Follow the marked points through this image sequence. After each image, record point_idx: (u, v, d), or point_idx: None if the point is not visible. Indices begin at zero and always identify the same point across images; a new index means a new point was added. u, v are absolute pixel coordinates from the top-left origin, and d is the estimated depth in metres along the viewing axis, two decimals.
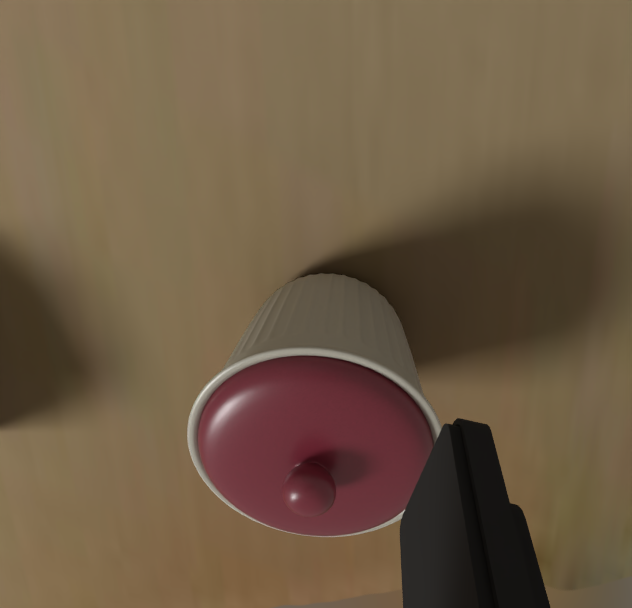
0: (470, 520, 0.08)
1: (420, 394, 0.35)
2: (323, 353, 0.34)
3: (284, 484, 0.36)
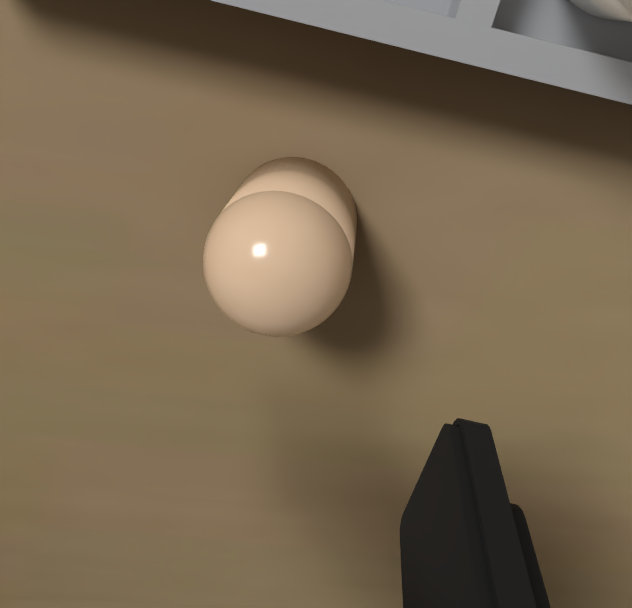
0: (470, 520, 0.08)
1: None
2: None
3: None
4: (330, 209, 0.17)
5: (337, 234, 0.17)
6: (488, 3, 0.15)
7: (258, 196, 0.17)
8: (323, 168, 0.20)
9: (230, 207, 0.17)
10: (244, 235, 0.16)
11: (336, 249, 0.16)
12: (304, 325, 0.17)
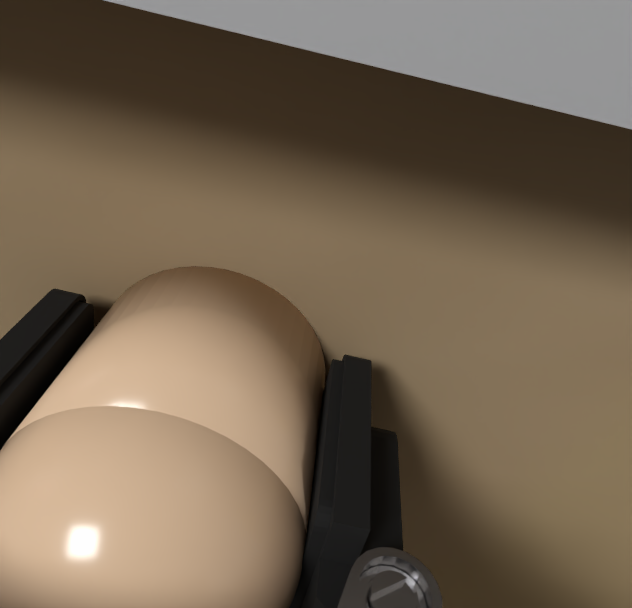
0: (331, 433, 0.09)
1: None
2: None
3: None
4: (253, 427, 0.08)
5: (265, 510, 0.07)
6: None
7: (72, 429, 0.07)
8: (257, 290, 0.10)
9: (14, 445, 0.07)
10: (16, 560, 0.06)
11: (261, 556, 0.07)
12: None
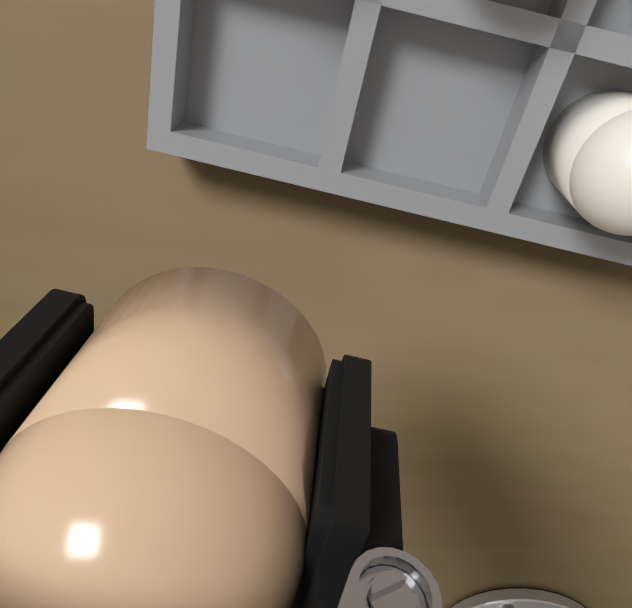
0: (331, 433, 0.09)
1: None
2: None
3: None
4: (254, 428, 0.08)
5: (265, 512, 0.07)
6: (506, 200, 0.24)
7: (73, 431, 0.07)
8: (258, 291, 0.10)
9: (15, 447, 0.07)
10: (18, 562, 0.06)
11: (261, 558, 0.07)
12: None
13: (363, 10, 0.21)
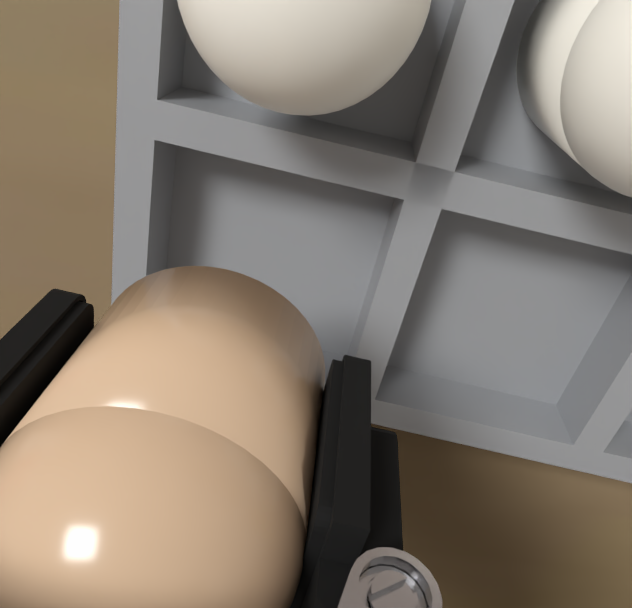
0: (331, 433, 0.09)
1: None
2: None
3: None
4: (252, 426, 0.08)
5: (265, 511, 0.07)
6: (602, 438, 0.18)
7: (70, 430, 0.07)
8: (256, 289, 0.10)
9: (11, 446, 0.07)
10: (13, 561, 0.06)
11: (259, 558, 0.07)
12: None
13: (415, 214, 0.15)
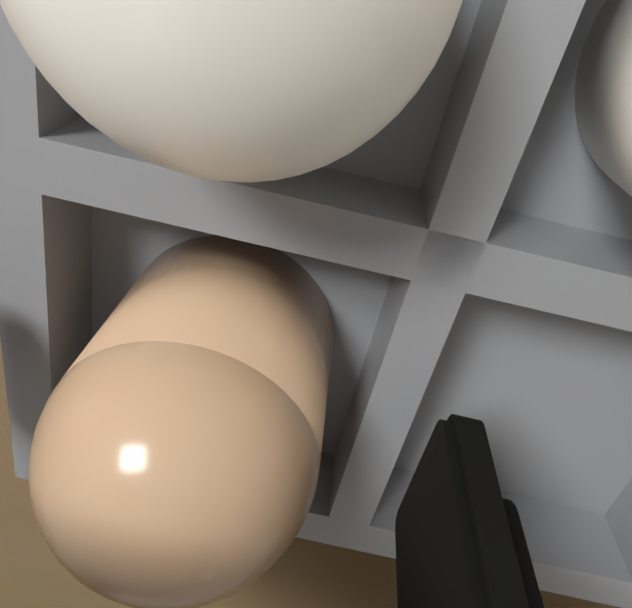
0: (463, 514, 0.08)
1: None
2: None
3: None
4: (275, 363, 0.09)
5: (286, 428, 0.08)
6: None
7: (124, 358, 0.08)
8: (274, 255, 0.12)
9: (74, 374, 0.09)
10: (83, 459, 0.07)
11: (283, 465, 0.08)
12: (225, 597, 0.09)
13: (427, 299, 0.10)
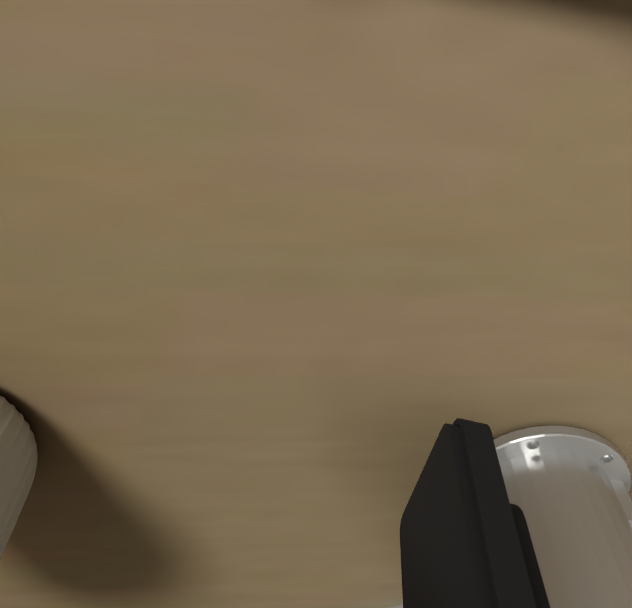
0: (470, 520, 0.08)
1: None
2: None
3: None
4: None
5: None
6: None
7: None
8: None
9: None
10: None
11: None
12: None
13: None
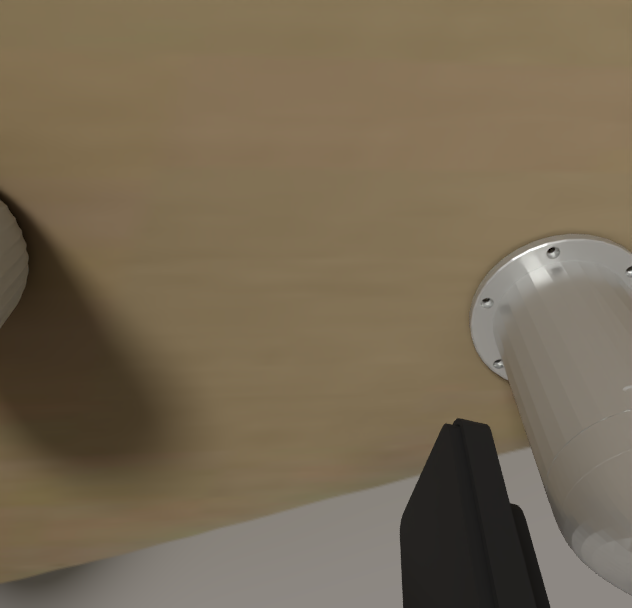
0: (470, 520, 0.08)
1: None
2: None
3: None
4: None
5: None
6: None
7: None
8: None
9: None
10: None
11: None
12: None
13: None
